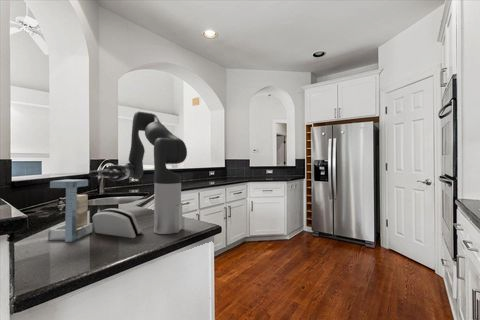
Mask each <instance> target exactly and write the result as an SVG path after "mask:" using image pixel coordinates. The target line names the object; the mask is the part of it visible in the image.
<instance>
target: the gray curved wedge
mask: <svg viewBox="0 0 480 320" xmlns="http://www.w3.org/2000/svg"><path fill="white" fill-rule="evenodd" d="M91 218H92V225H93V227H94V228H93V229H94V232H95V234H101V235H109V236H116V237H121V238H123V237H124V238H131V239H134V238H136V237H137V235H144V231H143V229H142V228H140V227H139V224H138V221H137V218H136V216H135V215H134V213H132V212H130V211H127V210H124V209H120V208H114V207H113V208H112V207H111V208H106V209H103V210H99V211H97V212H96V213H94V215H93V216H91ZM136 234H137V235H136Z"/></svg>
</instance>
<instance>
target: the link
mask: <svg viewBox="0 0 480 320" xmlns="http://www.w3.org/2000/svg"><path fill="white" fill-rule="evenodd" d="M88 197H89V195H88V194H77V208H76V229H78V228H80V227H83V226H85V225H87V224H88V211H89V210H88V205H89V203H88V199H89V198H88Z"/></svg>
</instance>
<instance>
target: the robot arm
mask: <svg viewBox="0 0 480 320" xmlns="http://www.w3.org/2000/svg"><path fill="white" fill-rule="evenodd" d="M140 131H141V132H144V135H145V137H146V140H147V141H148V142H149V144H151V145H152V146H153V163H154V164H153V165H154V167H153V169H154V171H153V173H154V189H153V190H154V195H153V197H154V199H153V200H154V203H153V206H154V207H153V208H154V209H153V233H154V234H159V235H170V234H179V233H180V231H181V230H182V229H183V202H182V176H181V174H179V173H176V172H173V171H171V170H170V169H168V168H167V165H177V164H178V165H179V164H182V163H183V162H185V161H186V159H187V156H188V150H187V149H188V148H187V146H186V143H185V141H183V140H182V139H181V138H180V137H178V136H176V135H175V134H173V133H172V132H171V131H170V130H168V128H167V127H166V126H165V125H163V124H162V122H161V121H160V119H159V118H158V116H157V115H156V114H154V113H150V112H145V111H135V112H134V115H133V118H132V126H131V137H130V138H131V144H130V151H129V155H128V162H127V163H125V164H124V165H123V164H113V165H110V166H109V167H108V168H106V169H97V170H89V172H88V177H89V178H97V177H98V178H99V179H100V178H107V179H108V180H110V181H112V182H115V181H116V182H118V181H123V180H125V179H130V178H132V179H133V180H139V179H141V178H142V177H143V175H144V163H143V161H144V156H145V153H146V151H145V146H144V144H143V142H142V141H141V137H140V135H139V132H140Z"/></svg>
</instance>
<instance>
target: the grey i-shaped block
mask: <svg viewBox="0 0 480 320" xmlns="http://www.w3.org/2000/svg"><path fill="white" fill-rule="evenodd" d="M88 186H89V179H59V180H52V181H51V180H50V181H49V188H50V189H65V213H64V214H65V217H64V218H65V221H64V223H65V224H61V225H59V226H56V227H53V228H52V229H51V228H50V229H48V230H47V240H48V241H64V243H73V242H75V241H77V240H79V239H80V238H83V237H85V236H87V235H89V234H91V233H93V222H92V223H87V225H85V226H83V227H80V228H78V229H76V208H77V195H78V193H77V192H78V188H81V187H88Z"/></svg>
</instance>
